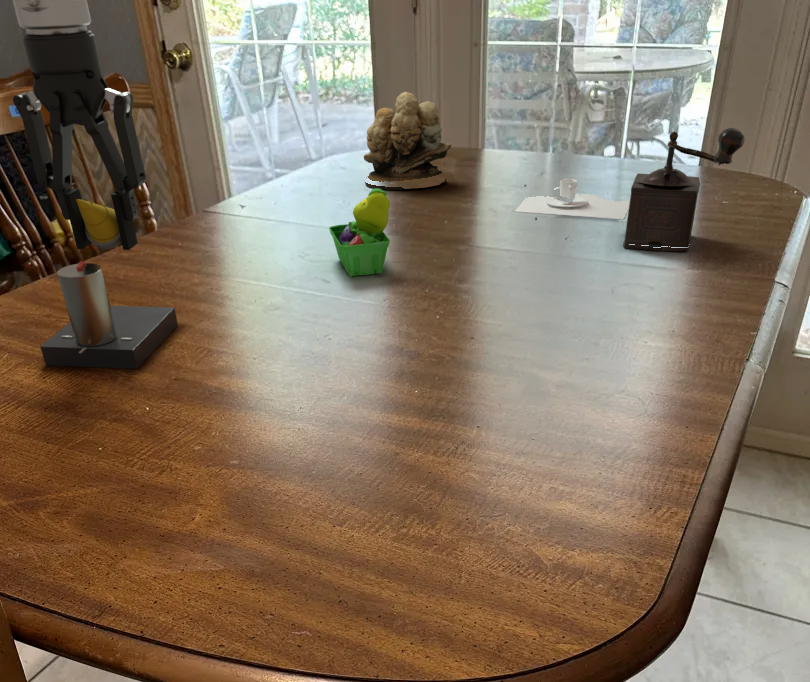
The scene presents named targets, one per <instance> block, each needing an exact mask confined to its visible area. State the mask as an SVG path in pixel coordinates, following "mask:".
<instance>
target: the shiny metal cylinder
mask: <svg viewBox="0 0 810 682" xmlns="http://www.w3.org/2000/svg"><path fill="white" fill-rule="evenodd" d="M56 274H57V279H58V281H59V285H60V288H61V293H62V296H63V299H64V300H63V301H64V303H65V307H66V311H67V315H68V318H69V322H71V326H72V329H73V333H74V337H75V340H76V343H78V344H79V345H83V346H98V345H103V344H106V343H109V342H111V341H113V340H115V339H116V338H117V331H116V327H115V323H114V318H113V314H112V310H111V306H112V305H111V303H110V297H109V294H108V290H107V289H108V288H107V286H106V281H105V278H104V273H103V268H102V266H101V265H99V264H98V263H93V262H92V263H91V262H86V261H85V260H80V261H79V262H78V263H75V264H70V265H65V266H64V267H62V268H60V269H58V270H57V272H56Z"/></svg>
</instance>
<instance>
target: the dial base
mask: <svg viewBox="0 0 810 682" xmlns="http://www.w3.org/2000/svg"><path fill="white" fill-rule="evenodd" d="M110 306H111V310H112V314H113V318H114V323H115V327H116V331H117V338H116V339H115V340H113V341H111V342H109V343H106V344H103V345H98V346H83V345H79V344H78V343H76V340H75V337H74V333H73V329H72V326H71V322H70V321H69V322H68V323H67V324H66V325H64V326H63V327H62V328H61V329H60V330H58V331H57V332H56V333H55V334H54V335H53V336H51V337H50V338H49V339H48V340H47V341H45V342H44V343H43V344H42V345H41V346H40V350H41V354H42V357H43V361H44V364H45V366H51V367H52V366H53V367H75V368H76V367H78V368H101V369H102V368H103V369H126V370H138V369H139V368H140V367H141V366H142V365H143V364H144V363H145V362H146V361H147V359H149V357H150V356H151V355H152V354H153V353H154V352H155V351H156V350H157V349H158V347H159V346H161V344H162V343H163V342H164V341H165V340H166V339H167V338H168V337H169V335H171V333H173V332H174V331H175V329H176V328H177V327H178V324H179V323H178V317H177V314H176V308H175V307H172V306H171V307H169V306H168V307H167V306H135V305H134V306H133V305H110Z"/></svg>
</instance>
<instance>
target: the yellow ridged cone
mask: <svg viewBox="0 0 810 682" xmlns="http://www.w3.org/2000/svg"><path fill="white" fill-rule="evenodd" d="M76 201H77V203H78V206H79V209H80V212H81V214H82V217H83V220H84V222H85V233H86V236H87V238H88V239H89V240H90V241H91V242H92V243H91V244H93V245H94V246H95V247H97V248H98V249H101V250H112V249H115V248H116V247H118V246H119V245H120V244H122V241H121V237H120V233H119V228H118V224H117V219H116V215H115V210H114V206H113V204H112V205H111V204H104V205H100V204H98V203H94V202H90V201H87V200H83V199H82V200H80V199H78V200H77V199H76Z"/></svg>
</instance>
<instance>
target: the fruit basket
mask: <svg viewBox="0 0 810 682" xmlns="http://www.w3.org/2000/svg"><path fill="white" fill-rule="evenodd" d="M390 207H391V203H390V199H389V198H388V196H387V192H386V191H385V190H383V189H376V188H372V189H371V190H370V191H369V193H368V195H367V197H366V198H364V199H362V200H361V201H360V202H358V203H356V204H355V206H354V208H353V210H352V216H353V217H354V220H355V221H348V224H337V225H336V224H335V225H331V226H329V227H328V230H329V232H330V235H331V237H332V240H333V243H334V247H335V250H336V253H337V258H338V259H339V261H340V262H341V264H342V266H343V267H344V269H345V271H346V272H347V274H348V276H349V277H356V276H369V275H374V274H377V275H378V274H382V273H383V270H384V267H385V261H386V256H387V252H388V248H389V246H390V242H391V240H390V239H389V237H388V236H387V235H386V234H385V232H384V231H385V230H386V228H387V226H388V223H389V210H390Z"/></svg>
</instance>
